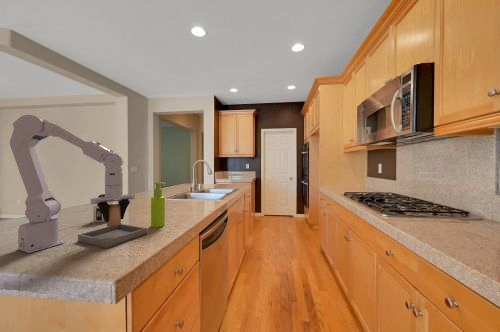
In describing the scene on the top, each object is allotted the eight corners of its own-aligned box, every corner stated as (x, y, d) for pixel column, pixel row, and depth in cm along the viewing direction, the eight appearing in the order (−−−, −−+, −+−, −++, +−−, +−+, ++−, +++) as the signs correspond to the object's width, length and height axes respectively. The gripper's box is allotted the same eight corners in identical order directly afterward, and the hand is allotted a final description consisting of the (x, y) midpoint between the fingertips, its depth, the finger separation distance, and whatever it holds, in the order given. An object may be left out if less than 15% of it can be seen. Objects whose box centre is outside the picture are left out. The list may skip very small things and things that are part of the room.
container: (108, 222, 103) (108, 195, 103) (92, 222, 103) (92, 195, 103) (118, 218, 111) (118, 193, 110) (104, 218, 111) (104, 193, 111)
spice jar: (109, 227, 79) (108, 205, 79) (104, 225, 82) (104, 205, 82) (122, 224, 82) (122, 204, 82) (118, 222, 85) (117, 203, 85)
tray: (106, 248, 71) (106, 241, 71) (77, 241, 78) (77, 234, 78) (146, 234, 86) (146, 228, 86) (119, 229, 93) (119, 223, 92)
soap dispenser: (161, 227, 95) (161, 182, 94) (147, 226, 96) (147, 182, 96) (169, 224, 100) (169, 181, 100) (156, 223, 102) (156, 181, 102)
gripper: (128, 182, 90) (129, 215, 90) (87, 185, 78) (87, 222, 78) (137, 183, 86) (137, 217, 86) (94, 187, 74) (94, 226, 74)
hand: (114, 220), depth 82 cm, fingers closed on spice jar, 5 cm apart
